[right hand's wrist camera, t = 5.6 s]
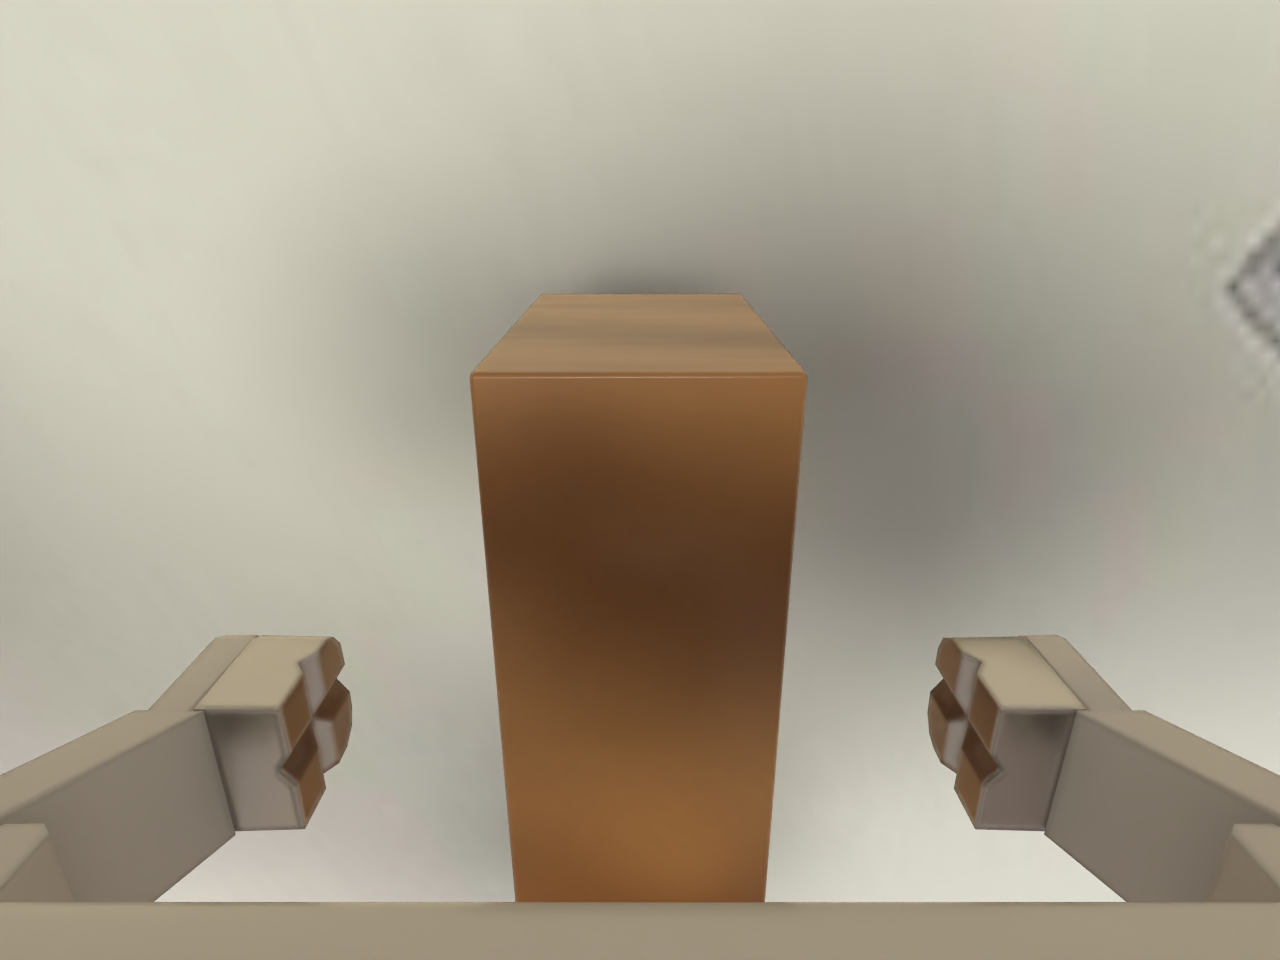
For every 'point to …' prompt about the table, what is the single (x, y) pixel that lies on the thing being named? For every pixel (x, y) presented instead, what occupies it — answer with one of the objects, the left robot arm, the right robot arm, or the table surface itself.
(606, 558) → the bar
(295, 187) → the table surface
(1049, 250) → the table surface
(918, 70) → the table surface
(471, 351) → the table surface
